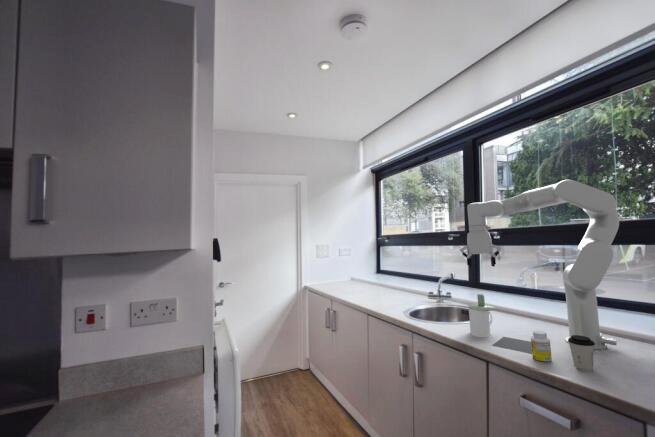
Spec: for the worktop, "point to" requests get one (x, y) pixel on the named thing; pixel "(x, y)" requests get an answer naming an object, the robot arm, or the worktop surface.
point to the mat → (514, 344)
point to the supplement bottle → (541, 347)
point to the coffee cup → (582, 352)
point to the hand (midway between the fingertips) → (481, 266)
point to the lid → (481, 304)
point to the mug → (480, 323)
